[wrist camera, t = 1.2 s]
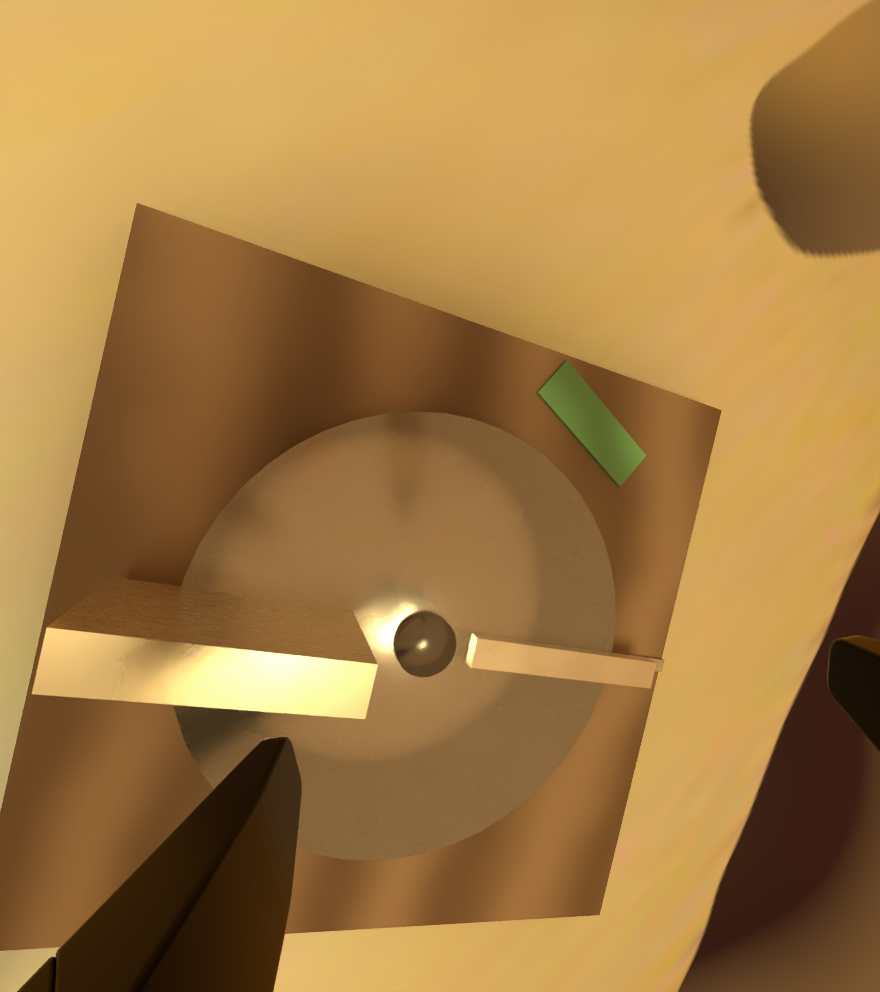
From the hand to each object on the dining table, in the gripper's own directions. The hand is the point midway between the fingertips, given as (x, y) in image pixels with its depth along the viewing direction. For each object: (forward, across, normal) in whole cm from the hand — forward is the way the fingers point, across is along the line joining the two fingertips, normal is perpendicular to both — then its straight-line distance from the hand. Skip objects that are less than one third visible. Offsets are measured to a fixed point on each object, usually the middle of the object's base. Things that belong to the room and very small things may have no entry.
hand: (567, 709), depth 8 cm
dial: (+12, +3, +5) cm, 13 cm away
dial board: (+14, +3, +5) cm, 15 cm away
